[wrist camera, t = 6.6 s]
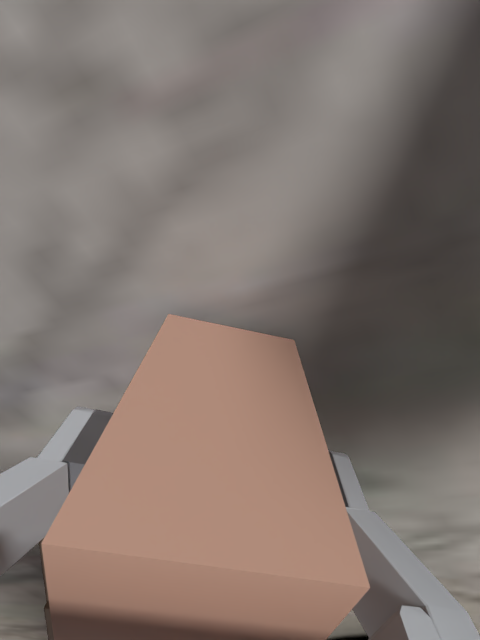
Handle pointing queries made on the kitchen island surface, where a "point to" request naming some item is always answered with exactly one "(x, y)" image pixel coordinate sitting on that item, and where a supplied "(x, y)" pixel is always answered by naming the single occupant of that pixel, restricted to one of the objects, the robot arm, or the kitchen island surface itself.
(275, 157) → the kitchen island surface
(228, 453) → the block
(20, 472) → the robot arm
